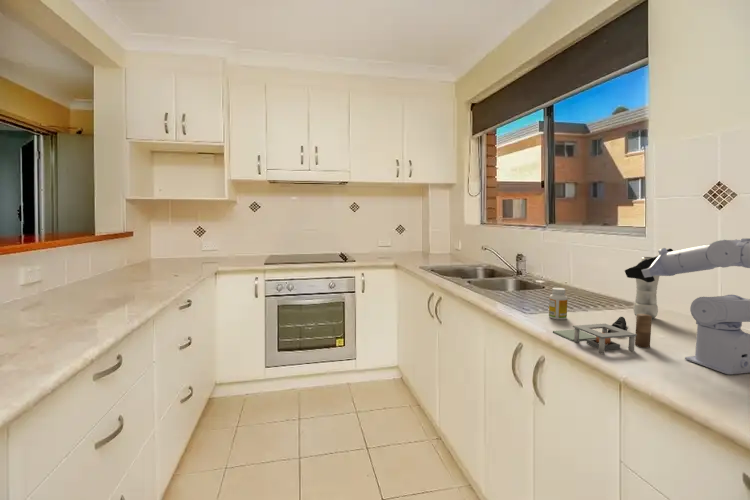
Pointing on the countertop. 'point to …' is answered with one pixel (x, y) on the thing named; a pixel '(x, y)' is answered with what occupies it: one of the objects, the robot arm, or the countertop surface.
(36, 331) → the countertop surface
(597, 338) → the plunger
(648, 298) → the plastic bottle
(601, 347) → the guard
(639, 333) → the dowel
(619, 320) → the electric trimmer
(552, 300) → the supplement bottle
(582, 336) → the coaster
